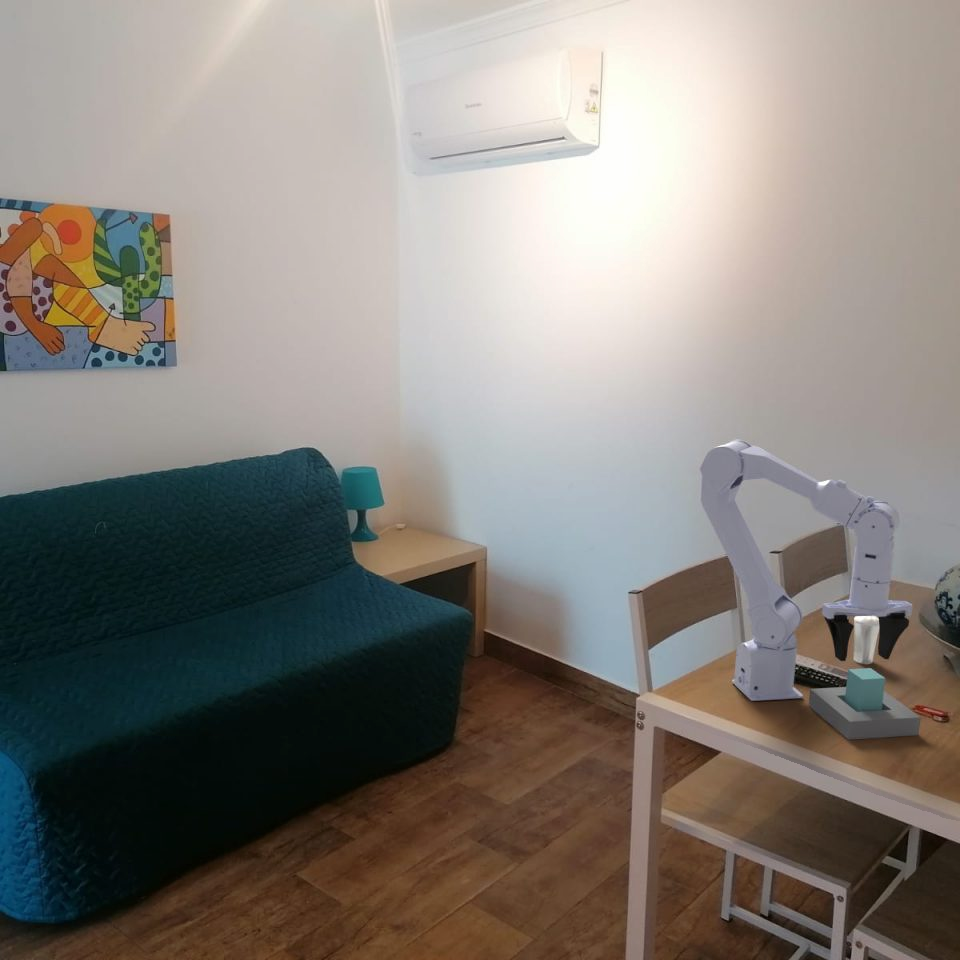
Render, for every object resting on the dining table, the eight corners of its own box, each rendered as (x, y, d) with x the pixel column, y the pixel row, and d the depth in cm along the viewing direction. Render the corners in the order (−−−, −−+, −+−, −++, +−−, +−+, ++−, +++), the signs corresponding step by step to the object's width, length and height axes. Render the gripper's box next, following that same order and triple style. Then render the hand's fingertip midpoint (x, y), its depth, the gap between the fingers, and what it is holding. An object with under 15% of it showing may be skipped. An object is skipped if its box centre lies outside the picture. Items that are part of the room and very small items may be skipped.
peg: (857, 726, 148) (862, 679, 146) (843, 715, 152) (848, 669, 150) (879, 724, 149) (885, 678, 147) (865, 713, 152) (870, 668, 151)
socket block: (847, 739, 143) (849, 721, 143) (808, 705, 155) (810, 688, 154) (918, 734, 145) (920, 717, 145) (874, 701, 157) (876, 685, 156)
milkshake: (883, 667, 172) (888, 616, 169) (852, 664, 173) (857, 613, 171) (877, 658, 176) (883, 607, 174) (848, 655, 177) (853, 605, 175)
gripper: (842, 587, 144) (833, 669, 146) (927, 584, 146) (917, 665, 149) (819, 573, 150) (811, 652, 153) (901, 571, 153) (892, 649, 155)
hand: (861, 657), depth 151 cm, fingers open, 7 cm apart
